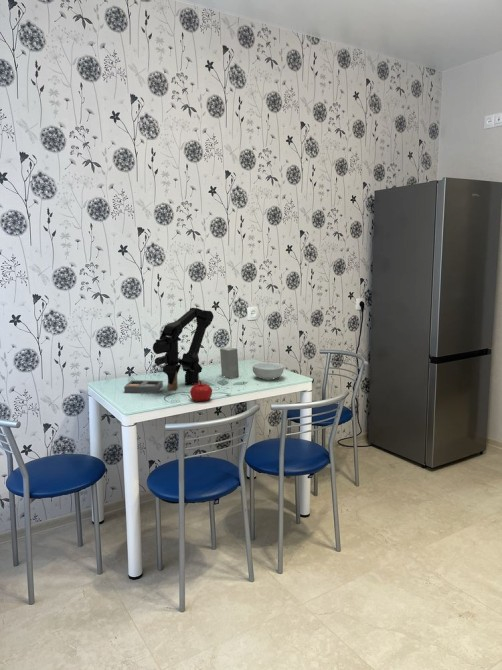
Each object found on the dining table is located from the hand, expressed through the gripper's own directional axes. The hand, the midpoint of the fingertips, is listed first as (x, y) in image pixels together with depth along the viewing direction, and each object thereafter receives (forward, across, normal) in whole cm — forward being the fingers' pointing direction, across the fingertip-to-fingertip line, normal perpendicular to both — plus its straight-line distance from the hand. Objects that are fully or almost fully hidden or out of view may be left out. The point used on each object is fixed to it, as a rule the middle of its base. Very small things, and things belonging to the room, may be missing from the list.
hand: (172, 381), depth 247 cm
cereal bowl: (+4, -25, +47) cm, 53 cm away
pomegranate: (+4, +16, +16) cm, 23 cm away
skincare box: (+4, -27, +26) cm, 38 cm away
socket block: (+4, +1, -14) cm, 15 cm away
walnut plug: (+4, 0, 0) cm, 4 cm away
